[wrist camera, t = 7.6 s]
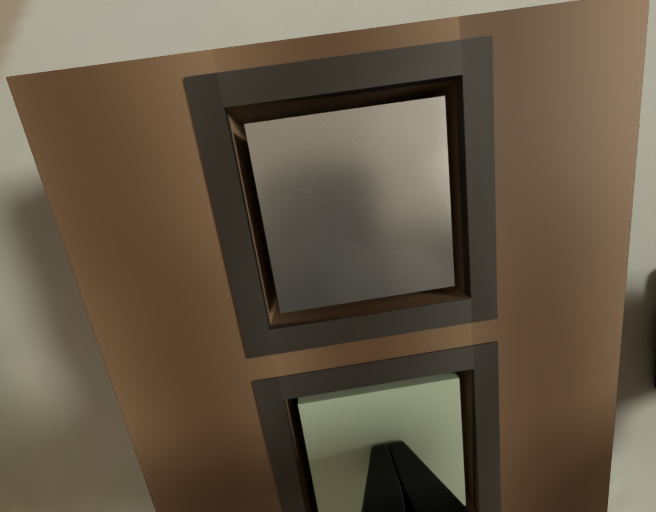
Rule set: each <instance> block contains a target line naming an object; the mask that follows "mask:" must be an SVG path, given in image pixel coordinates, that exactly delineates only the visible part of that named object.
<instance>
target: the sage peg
mask: <svg viewBox="0 0 656 512" xmlns="http://www.w3.org/2000/svg"><path fill="white" fill-rule="evenodd" d="M298 407H299V413H300V418H301V423H302V428H303V434H304V439H305V444H306V449H307V454H308V460H309V465H310V470H311V475H312V481H313V486H314V491H315V496H316V501H317V507H318V512H361V510H362V504H363V498H364V491H365V485H366V478H367V472H368V466H369V459H370V453H371V448H372V446H373V445H379V444H387V446H388V444H389V443H390V442H396V441H403V442H405V443H406V444H407V445H408V446H409V448H410V449H411V450H412V451H413V452H414V453H415V454H416V455H417V456H418V457H419V458H420V459H421V460H422V461H423V462H424V463H425V464H426V466H427V467H428V468H429V469H430V470H431V471H432V472H433V473H434V474H435V475H436V476H437V477H438V478H439V479H440V480H441V481H442V482H443V483H444V485H445V486H446V487H447V488H448V489H449V490H450V491H451V492H452V493H453V494H454V495H455V496H456V497H457V498H458V499H459V500H460V501H461V502H462V504H463V505H466V499H465V479H464V460H463V440H462V421H461V401H460V382H459V377H458V376H457V374H456V373H455V372H451V373H445V374H439V375H433V376H427V377H421V378H415V379H408V380H402V381H396V382H390V383H384V384H378V385H372V386H366V387H360V388H354V389H348V390H342V391H336V392H329V393H323V394H317V395H311V396H305V397H299V398H298Z"/></svg>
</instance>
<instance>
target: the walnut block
mask: <svg viewBox="0 0 656 512" xmlns="http://www.w3.org/2000/svg"><path fill="white" fill-rule="evenodd" d="M648 12H649V0H579V1H571V2H564V3H556V4H549V5H541V6H534V7H526V8H519V9H511V10H504V11H497V12H489V13H482V14H474V15H467V16H459V17H452V18H444V19H437V20H429V21H422V22H414V23H407V24H399V25H392V26H384V27H377V28H369V29H362V30H354V31H347V32H340V33H332V34H325V35H317V36H310V37H302V38H295V39H287V40H280V41H272V42H265V43H257V44H250V45H242V46H235V47H227V48H220V49H212V50H205V51H197V52H190V53H182V54H175V55H168V56H160V57H153V58H145V59H138V60H130V61H123V62H115V63H108V64H100V65H93V66H85V67H78V68H70V69H63V70H55V71H48V72H40V73H33V74H25V75H18V76H11V77H6V79H7V82H8V85H9V88H10V91H11V94H12V96H13V99H14V102H15V105H16V108H17V111H18V114H19V117H20V120H21V122H22V125H23V128H24V131H25V134H26V137H27V140H28V143H29V146H30V148H31V151H32V154H33V157H34V160H35V163H36V166H37V169H38V172H39V175H40V177H41V180H42V183H43V186H44V189H45V192H46V195H47V198H48V201H49V203H50V206H51V209H52V212H53V215H54V218H55V221H56V224H57V227H58V229H59V232H60V235H61V238H62V241H63V244H64V247H65V250H66V253H67V256H68V258H69V261H70V264H71V267H72V270H73V273H74V276H75V279H76V282H77V284H78V287H79V290H80V293H81V296H82V299H83V302H84V305H85V308H86V310H87V313H88V316H89V319H90V322H91V325H92V328H93V331H94V334H95V336H96V339H97V342H98V345H99V348H100V351H101V354H102V357H103V360H104V363H105V365H106V368H107V371H108V374H109V377H110V380H111V383H112V386H113V389H114V391H115V394H116V397H117V400H118V403H119V406H120V409H121V412H122V415H123V417H124V420H125V423H126V426H127V429H128V432H129V435H130V438H131V441H132V444H133V446H134V449H135V452H136V455H137V458H138V461H139V464H140V467H141V470H142V472H143V475H144V478H145V481H146V484H147V487H148V490H149V493H150V496H151V498H152V501H153V504H154V507H155V510H156V512H318V507H317V501H316V496H315V491H314V486H313V481H312V475H311V470H310V465H309V460H308V454H307V449H306V444H305V439H304V434H303V428H302V423H301V418H300V413H299V407H298V398H299V397H305V396H311V395H317V394H323V393H329V392H336V391H342V390H348V389H354V388H360V387H366V386H372V385H378V384H384V383H390V382H396V381H402V380H408V379H415V378H421V377H427V376H433V375H439V374H445V373H451V372H455V373H456V374H457V376H458V377H459V382H460V401H461V421H462V440H463V460H464V479H465V499H466V505H464V506H465V507H466V508H467V509H468V510H469V511H470V512H607V507H608V495H609V483H610V471H611V459H612V447H613V435H614V423H615V411H616V398H617V386H618V374H619V362H620V350H621V338H622V326H623V314H624V302H625V290H626V278H627V265H628V253H629V241H630V229H631V217H632V205H633V193H634V181H635V169H636V157H637V145H638V132H639V120H640V108H641V96H642V84H643V72H644V60H645V48H646V36H647V24H648ZM440 96H445V106H446V126H447V145H448V165H449V185H450V204H451V224H452V243H453V263H454V282H455V286H451V287H445V288H438V289H432V290H426V291H419V292H413V293H407V294H400V295H394V296H387V297H381V298H375V299H368V300H362V301H356V302H349V303H343V304H337V305H330V306H324V307H317V308H311V309H305V310H298V311H292V312H286V313H280V308H279V303H278V298H277V293H276V288H275V282H274V277H273V272H272V267H271V261H270V256H269V251H268V246H267V241H266V235H265V230H264V225H263V220H262V214H261V209H260V204H259V199H258V194H257V188H256V183H255V178H254V173H253V167H252V162H251V157H250V152H249V147H248V141H247V136H246V131H245V126H244V124H248V123H255V122H263V121H270V120H277V119H284V118H291V117H298V116H305V115H312V114H319V113H327V112H334V111H341V110H348V109H355V108H362V107H369V106H376V105H384V104H391V103H398V102H405V101H412V100H419V99H426V98H433V97H440Z"/></svg>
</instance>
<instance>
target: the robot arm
mask: <svg viewBox="0 0 656 512" xmlns="http://www.w3.org/2000/svg"><path fill="white" fill-rule="evenodd" d="M655 388H656V377H655ZM361 512H470V511H469V510H468V509H467V508H466V507H465V506H464V505H463V504H462V502H461V501H460V500H459V499H458V498H457V497H456V496H455V495H454V494H453V493H452V492H451V491H450V490H449V489H448V488H447V487H446V486H445V485H444V483H443V482H442V481H441V480H440V479H439V478H438V477H437V476H436V475H435V474H434V473H433V472H432V471H431V470H430V469H429V468H428V467H427V466H426V464H425V463H424V462H423V461H422V460H421V459H420V458H419V457H418V456H417V455H416V454H415V453H414V452H413V451H412V450H411V449H410V448H409V446H408V445H407V444H406V443H405V442H403V441H396V442H390V443H389V444H388V446H387V444H379V445H373V446H372V448H371V453H370V459H369V466H368V472H367V478H366V485H365V491H364V498H363V504H362V510H361Z"/></svg>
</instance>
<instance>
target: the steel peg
mask: <svg viewBox="0 0 656 512" xmlns="http://www.w3.org/2000/svg"><path fill="white" fill-rule="evenodd" d="M244 126H245V131H246V136H247V141H248V147H249V152H250V157H251V162H252V167H253V173H254V178H255V183H256V188H257V194H258V199H259V204H260V209H261V214H262V220H263V225H264V230H265V235H266V241H267V246H268V251H269V256H270V261H271V267H272V272H273V277H274V282H275V288H276V293H277V298H278V303H279V308H280V313H286V312H292V311H298V310H305V309H311V308H317V307H324V306H330V305H337V304H343V303H349V302H356V301H362V300H368V299H375V298H381V297H387V296H394V295H400V294H407V293H413V292H419V291H426V290H432V289H438V288H445V287H451V286H455V282H454V263H453V243H452V224H451V204H450V185H449V165H448V145H447V126H446V106H445V96H440V97H433V98H426V99H419V100H412V101H405V102H398V103H391V104H384V105H376V106H369V107H362V108H355V109H348V110H341V111H334V112H327V113H319V114H312V115H305V116H298V117H291V118H284V119H277V120H270V121H263V122H255V123H248V124H244Z"/></svg>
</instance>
